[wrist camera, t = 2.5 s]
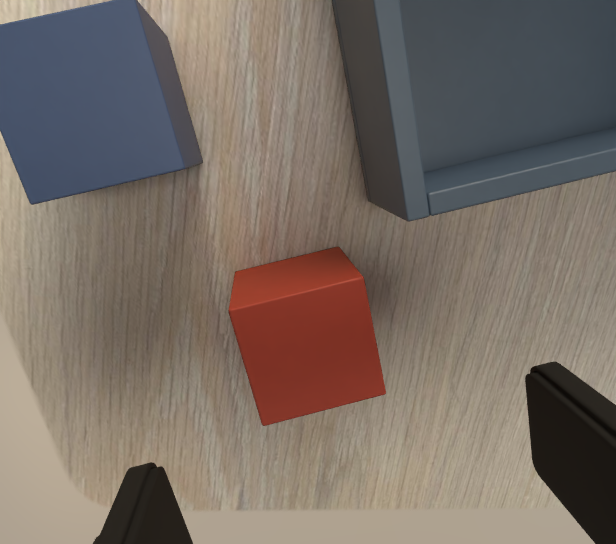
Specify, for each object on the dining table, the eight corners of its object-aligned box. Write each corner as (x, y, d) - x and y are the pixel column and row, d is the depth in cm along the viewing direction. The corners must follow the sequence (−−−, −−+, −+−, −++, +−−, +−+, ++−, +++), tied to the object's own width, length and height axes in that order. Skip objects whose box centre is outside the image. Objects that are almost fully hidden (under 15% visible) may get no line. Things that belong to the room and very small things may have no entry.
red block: (261, 365, 22) (262, 427, 17) (234, 271, 20) (227, 310, 16) (358, 340, 22) (386, 394, 17) (339, 245, 21) (364, 276, 16)
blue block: (87, 189, 19) (30, 205, 14) (41, 63, 17) (-42, 32, 12) (203, 162, 19) (185, 169, 14) (167, 35, 17) (133, -5, 13)
